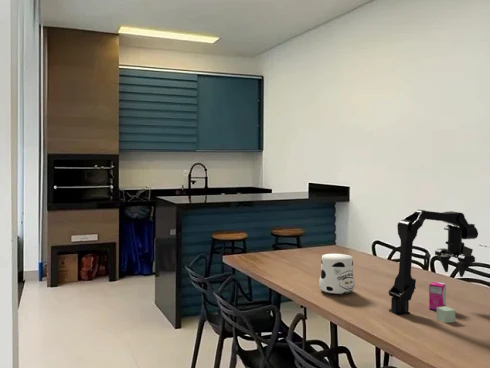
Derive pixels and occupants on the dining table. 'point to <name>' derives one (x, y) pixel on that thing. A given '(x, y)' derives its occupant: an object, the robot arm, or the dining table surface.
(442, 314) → the sage cube
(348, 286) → the milk container
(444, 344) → the dining table surface
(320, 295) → the dining table surface
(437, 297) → the supplement box
